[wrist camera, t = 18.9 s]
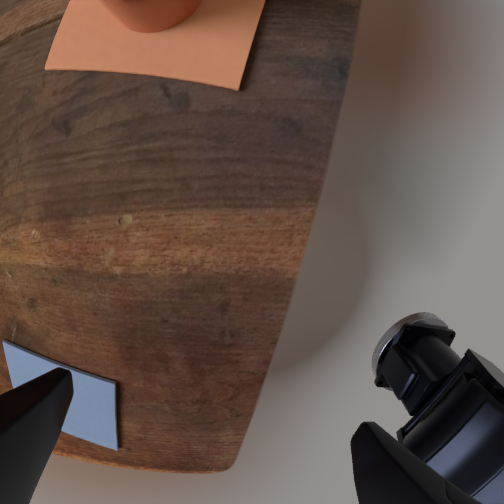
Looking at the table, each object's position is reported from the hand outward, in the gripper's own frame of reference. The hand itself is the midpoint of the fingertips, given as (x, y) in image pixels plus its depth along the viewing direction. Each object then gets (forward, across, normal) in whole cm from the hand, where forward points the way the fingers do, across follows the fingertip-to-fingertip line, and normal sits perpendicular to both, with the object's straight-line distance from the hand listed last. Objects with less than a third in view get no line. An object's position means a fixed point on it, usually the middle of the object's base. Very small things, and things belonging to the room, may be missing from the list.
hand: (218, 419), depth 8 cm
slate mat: (+13, +13, +17) cm, 25 cm away
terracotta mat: (+13, +9, -17) cm, 23 cm away
